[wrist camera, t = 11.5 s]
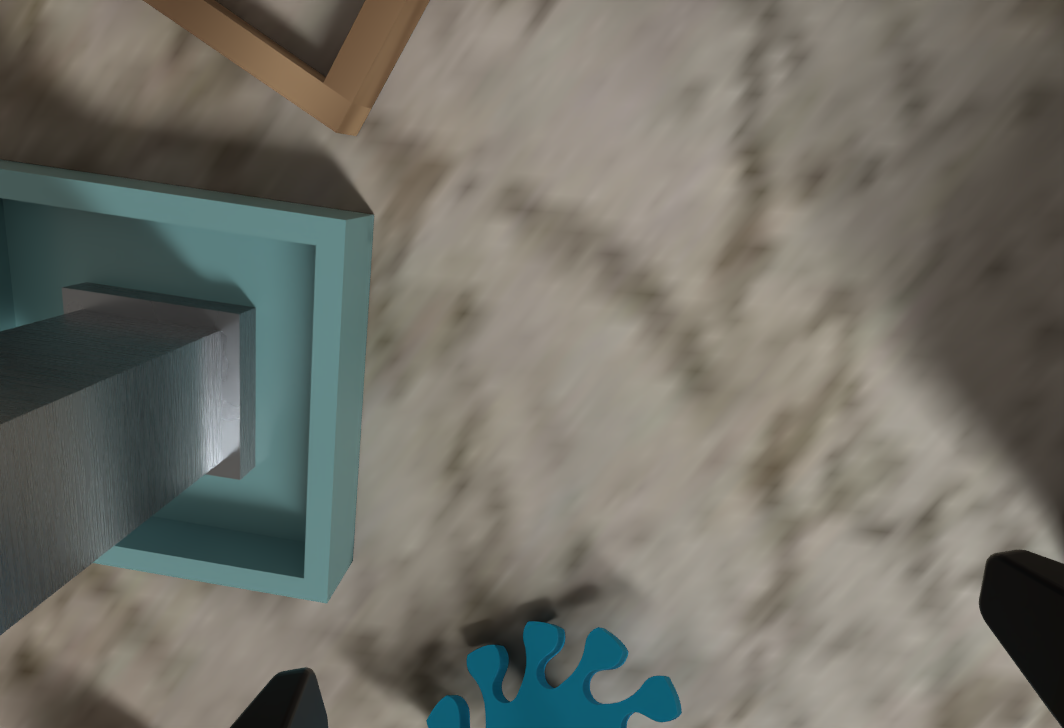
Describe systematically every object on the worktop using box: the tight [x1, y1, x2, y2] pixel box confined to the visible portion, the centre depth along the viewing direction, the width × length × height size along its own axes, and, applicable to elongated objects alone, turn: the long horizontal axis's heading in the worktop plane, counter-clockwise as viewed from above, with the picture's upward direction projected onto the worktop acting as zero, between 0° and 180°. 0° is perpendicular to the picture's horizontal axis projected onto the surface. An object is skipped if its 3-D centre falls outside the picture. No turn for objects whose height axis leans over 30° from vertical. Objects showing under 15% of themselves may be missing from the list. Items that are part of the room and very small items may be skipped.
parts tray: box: [0, 159, 374, 603], centre depth 20 cm, size 12×12×2 cm
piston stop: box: [0, 282, 256, 635], centre depth 15 cm, size 6×6×13 cm
